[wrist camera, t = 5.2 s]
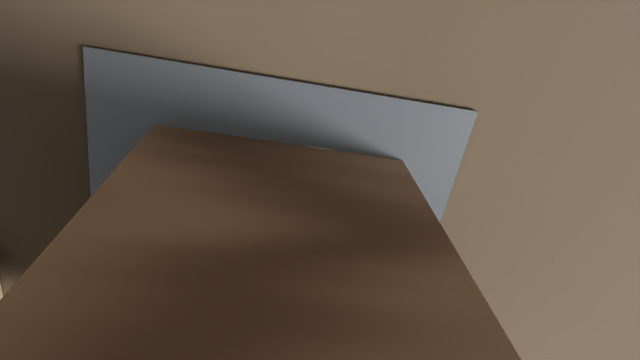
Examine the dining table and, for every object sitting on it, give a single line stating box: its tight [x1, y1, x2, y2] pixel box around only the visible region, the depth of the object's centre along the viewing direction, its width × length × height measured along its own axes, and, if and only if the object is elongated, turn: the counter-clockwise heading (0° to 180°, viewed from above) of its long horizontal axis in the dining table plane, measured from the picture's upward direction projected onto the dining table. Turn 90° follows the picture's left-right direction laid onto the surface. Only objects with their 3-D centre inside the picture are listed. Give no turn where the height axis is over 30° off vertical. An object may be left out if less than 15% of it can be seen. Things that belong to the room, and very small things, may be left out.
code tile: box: [83, 46, 478, 222], centre depth 12 cm, size 9×9×1 cm
